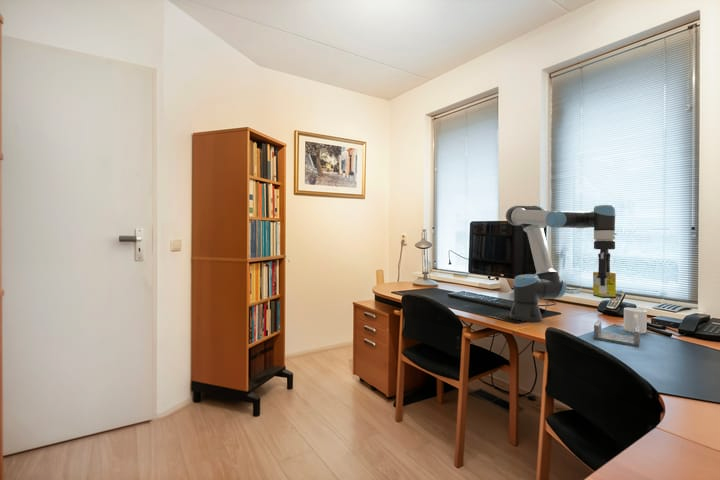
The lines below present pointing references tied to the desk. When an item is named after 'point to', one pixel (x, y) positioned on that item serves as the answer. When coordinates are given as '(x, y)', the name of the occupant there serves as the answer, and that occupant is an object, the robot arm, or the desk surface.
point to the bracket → (616, 336)
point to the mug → (635, 319)
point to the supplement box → (610, 285)
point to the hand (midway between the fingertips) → (604, 292)
